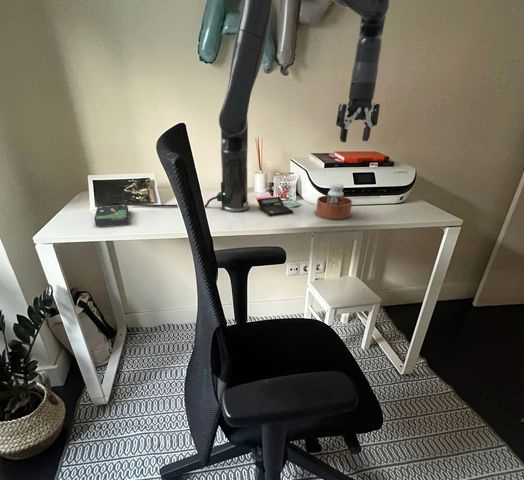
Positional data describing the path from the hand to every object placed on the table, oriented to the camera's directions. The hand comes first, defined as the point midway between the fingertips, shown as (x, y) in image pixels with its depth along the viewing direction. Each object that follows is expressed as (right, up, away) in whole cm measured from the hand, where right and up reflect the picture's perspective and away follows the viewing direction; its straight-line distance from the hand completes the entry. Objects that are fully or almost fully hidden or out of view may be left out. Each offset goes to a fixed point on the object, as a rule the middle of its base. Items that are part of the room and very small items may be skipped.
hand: (354, 141), depth 121 cm
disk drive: (-82, -24, +7) cm, 86 cm away
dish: (-4, -18, +16) cm, 24 cm away
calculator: (-26, -16, +18) cm, 35 cm away
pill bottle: (-4, -18, +16) cm, 24 cm away
